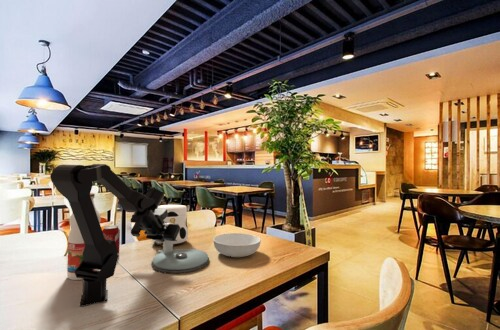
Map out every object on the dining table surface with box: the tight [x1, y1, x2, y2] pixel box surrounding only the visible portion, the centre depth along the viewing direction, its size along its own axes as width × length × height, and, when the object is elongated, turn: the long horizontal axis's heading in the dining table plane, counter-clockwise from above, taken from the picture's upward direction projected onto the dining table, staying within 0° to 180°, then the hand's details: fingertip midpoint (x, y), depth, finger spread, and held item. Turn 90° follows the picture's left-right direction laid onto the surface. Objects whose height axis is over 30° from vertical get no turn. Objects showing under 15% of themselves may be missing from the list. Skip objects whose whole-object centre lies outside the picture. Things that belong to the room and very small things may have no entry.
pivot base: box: [150, 243, 210, 275], centre depth 102 cm, size 24×22×5 cm
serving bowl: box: [212, 232, 261, 258], centre depth 113 cm, size 21×21×7 cm
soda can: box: [102, 224, 121, 255], centre depth 107 cm, size 7×7×12 cm
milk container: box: [151, 204, 189, 247], centre depth 126 cm, size 17×17×18 cm
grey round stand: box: [152, 223, 209, 270], centre depth 101 cm, size 21×23×13 cm
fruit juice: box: [66, 192, 102, 281], centre depth 88 cm, size 9×9×28 cm
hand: (163, 241), depth 104 cm, fingers closed
